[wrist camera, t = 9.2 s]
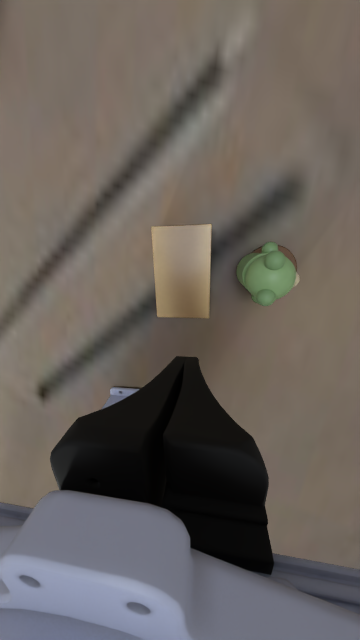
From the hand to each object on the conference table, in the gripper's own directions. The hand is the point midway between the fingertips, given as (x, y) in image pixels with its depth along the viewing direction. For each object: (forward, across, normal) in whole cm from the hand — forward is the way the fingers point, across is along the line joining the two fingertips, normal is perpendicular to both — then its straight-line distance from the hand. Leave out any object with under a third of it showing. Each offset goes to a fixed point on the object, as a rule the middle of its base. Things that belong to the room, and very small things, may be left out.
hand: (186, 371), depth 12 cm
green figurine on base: (+10, -4, -5) cm, 12 cm away
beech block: (+10, +1, -5) cm, 12 cm away
